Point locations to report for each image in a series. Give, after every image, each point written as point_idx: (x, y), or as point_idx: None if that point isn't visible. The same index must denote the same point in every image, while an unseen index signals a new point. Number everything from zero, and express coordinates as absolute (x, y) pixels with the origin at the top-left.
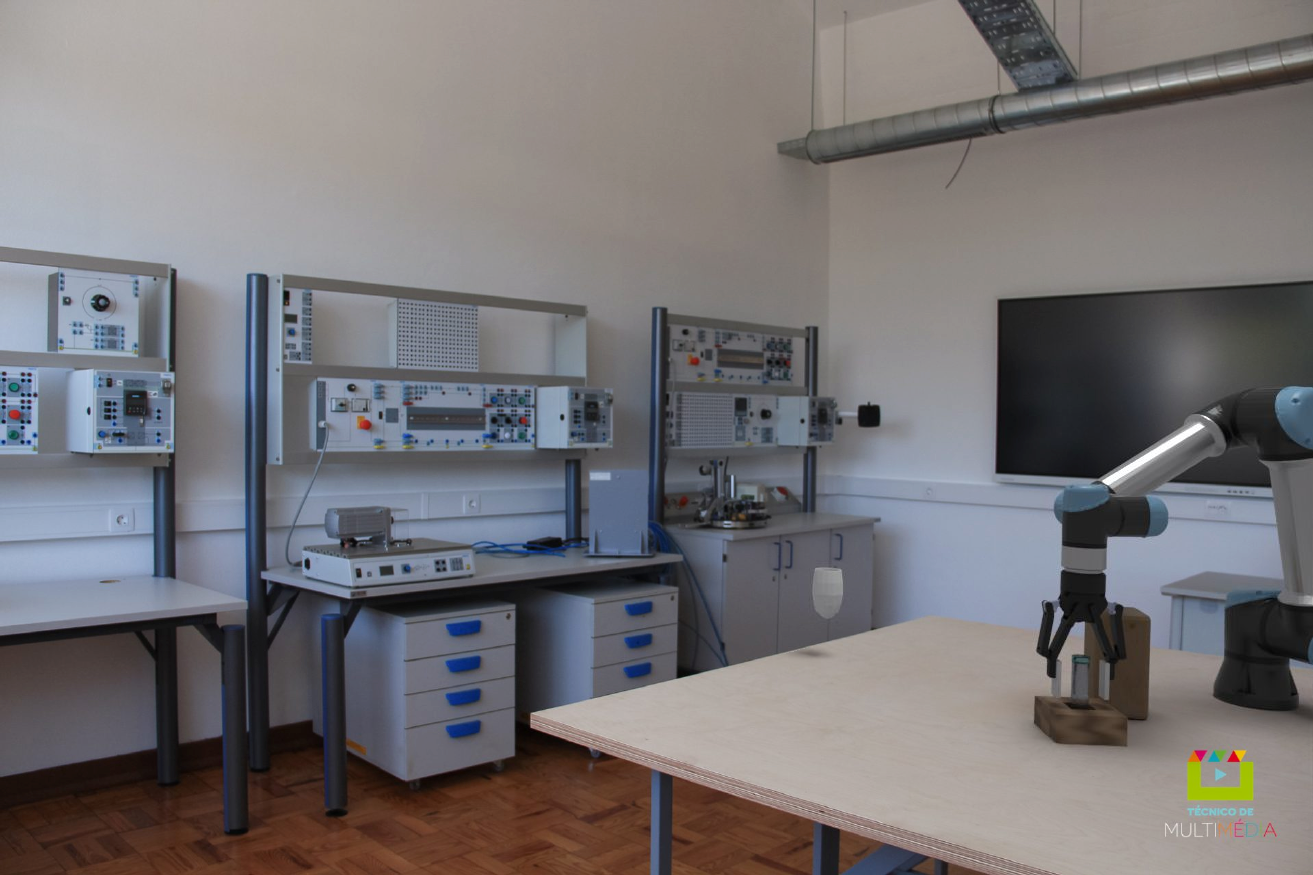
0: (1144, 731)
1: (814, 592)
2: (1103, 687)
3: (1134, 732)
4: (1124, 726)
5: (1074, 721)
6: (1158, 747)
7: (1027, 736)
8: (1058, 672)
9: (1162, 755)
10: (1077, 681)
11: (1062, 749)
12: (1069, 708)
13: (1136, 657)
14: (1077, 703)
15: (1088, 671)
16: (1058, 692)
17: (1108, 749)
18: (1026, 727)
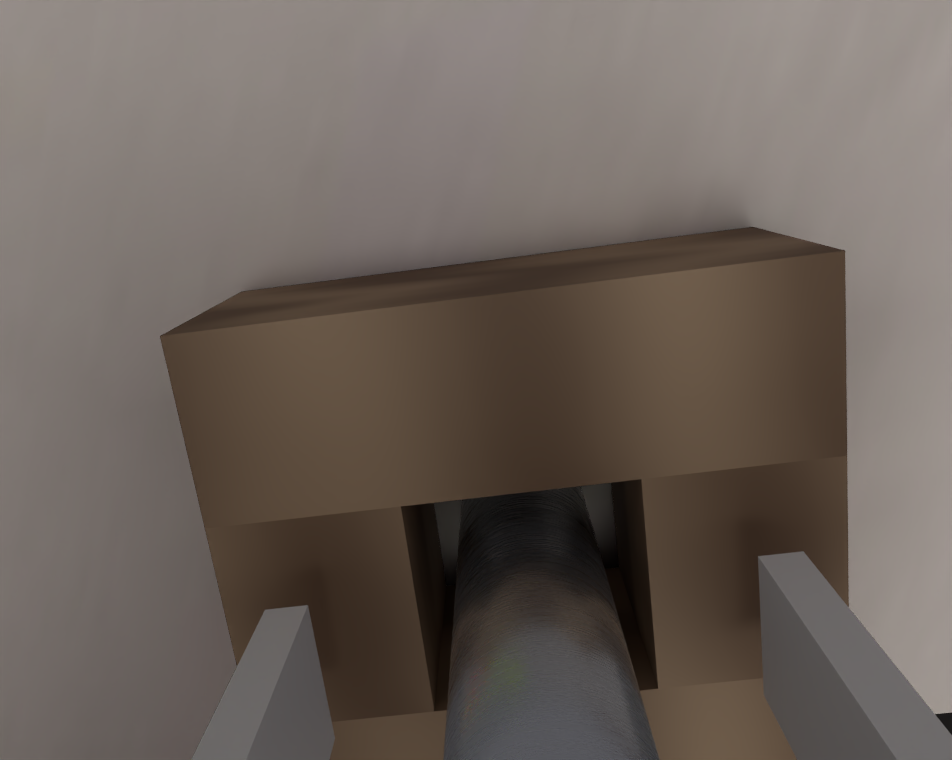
0: (61, 660)
1: None
2: (287, 710)
3: (130, 623)
4: (217, 313)
5: (655, 262)
6: (24, 316)
7: (923, 337)
8: (931, 739)
9: (26, 118)
10: (610, 698)
11: (751, 64)
12: (652, 495)
13: None
14: (574, 553)
15: None
16: (804, 580)
17: (395, 164)
18: (859, 554)
